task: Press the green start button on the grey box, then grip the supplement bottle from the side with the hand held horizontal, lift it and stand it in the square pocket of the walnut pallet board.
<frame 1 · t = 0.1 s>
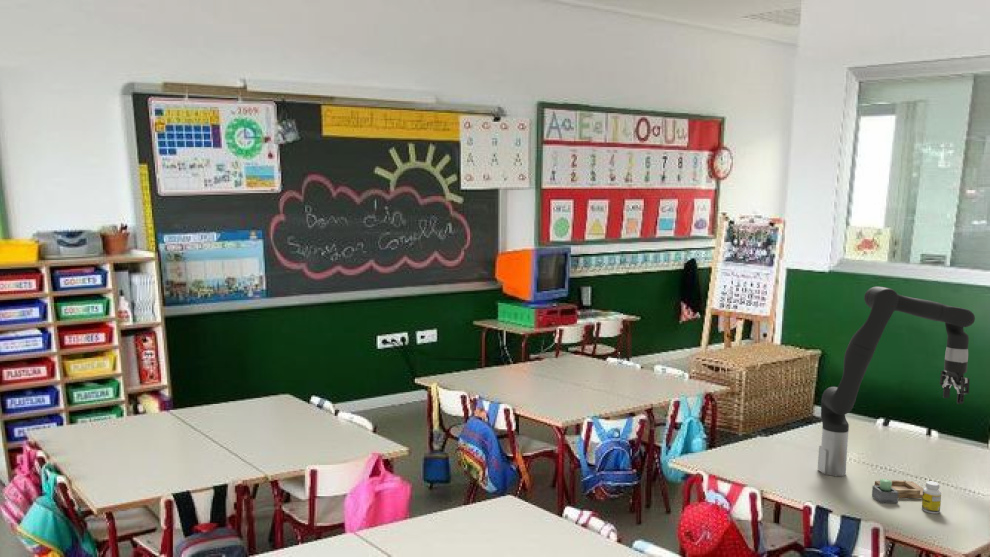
hand: (952, 400, 286), 29 cm above the table, tool pointing down, fingers open, 8 cm apart
pallet board: (903, 491, 270), on the table
start button: (885, 485, 261), point 5 cm above the table, slide at 0.0 cm
supplement bottle: (930, 511, 253), on the table
button box: (884, 499, 262), on the table
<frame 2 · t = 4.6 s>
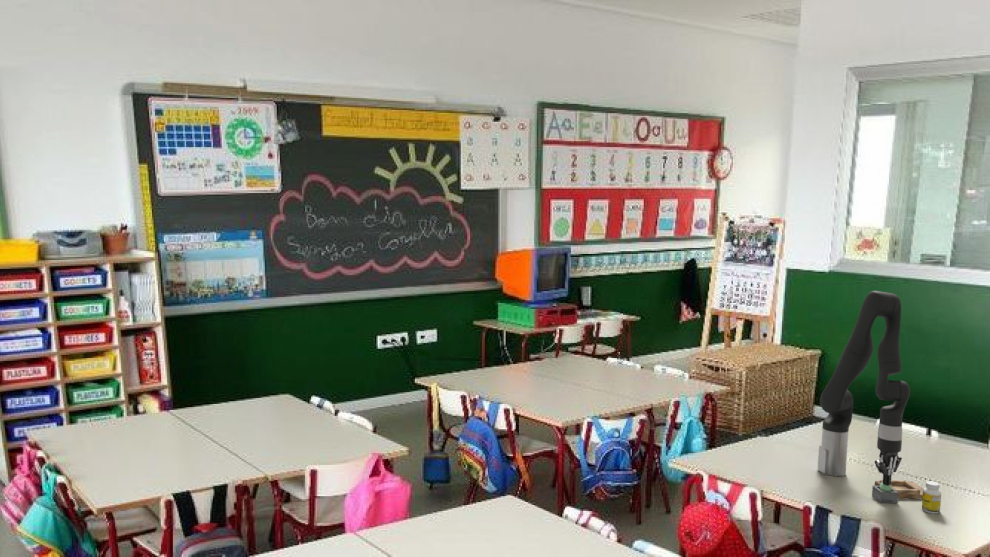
hand: (886, 484, 261), 6 cm above the table, tool pointing down, fingers closed
start button: (885, 488, 262), point 4 cm above the table, slide at 1.4 cm
everything else where it was.
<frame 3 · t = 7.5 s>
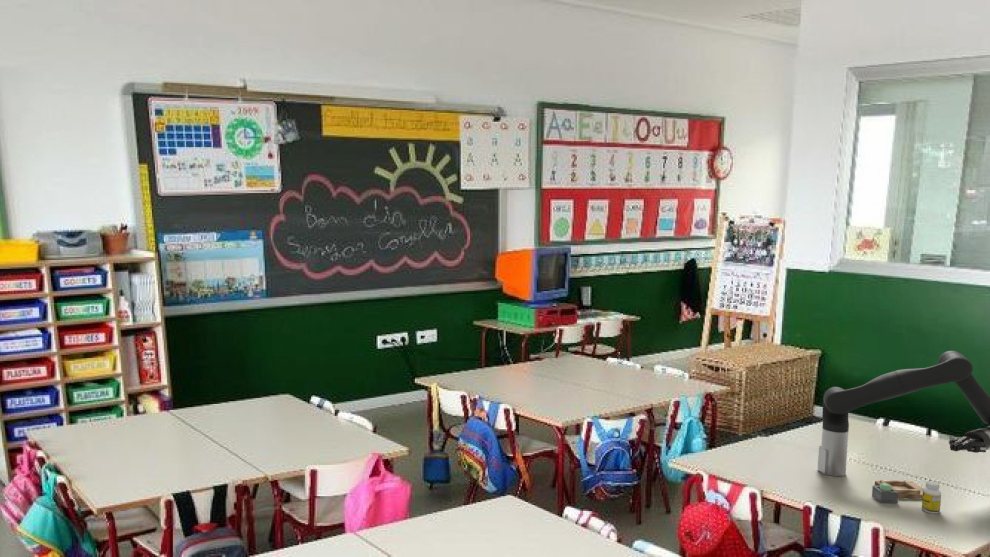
hand: (953, 447, 257), 20 cm above the table, tool horizontal, fingers closed
nothing on the table moved.
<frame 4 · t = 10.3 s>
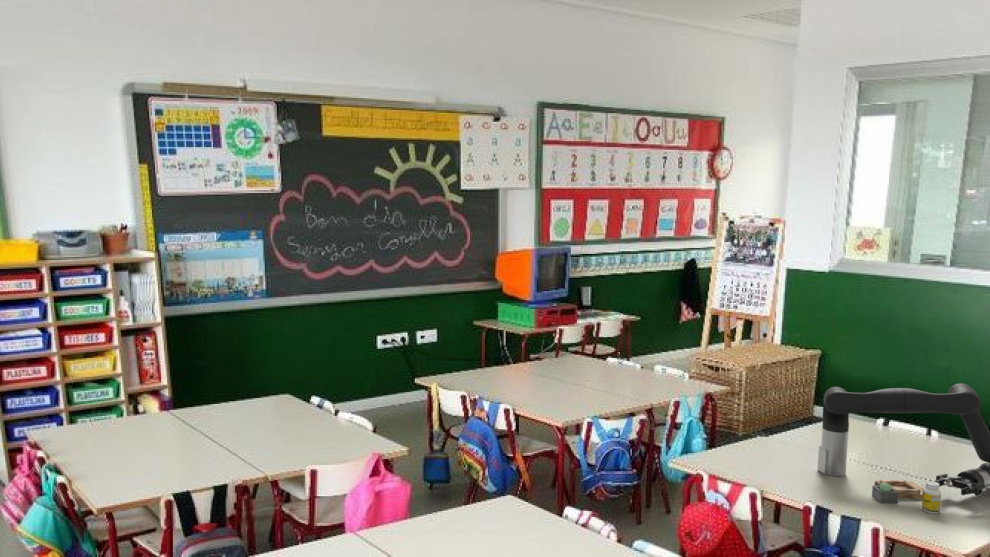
hand: (949, 488, 257), 6 cm above the table, tool horizontal, fingers open, 8 cm apart
nothing on the table moved.
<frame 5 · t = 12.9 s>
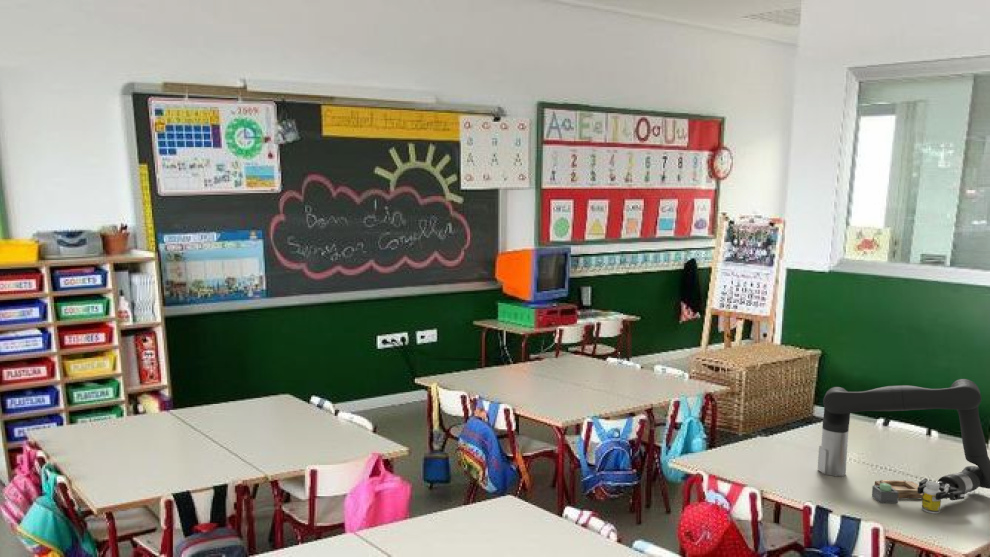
hand: (927, 493, 251), 7 cm above the table, tool horizontal, fingers closed on supplement bottle, 5 cm apart
supplement bottle: (930, 511, 253), on the table, touching gripper
everything else where it was.
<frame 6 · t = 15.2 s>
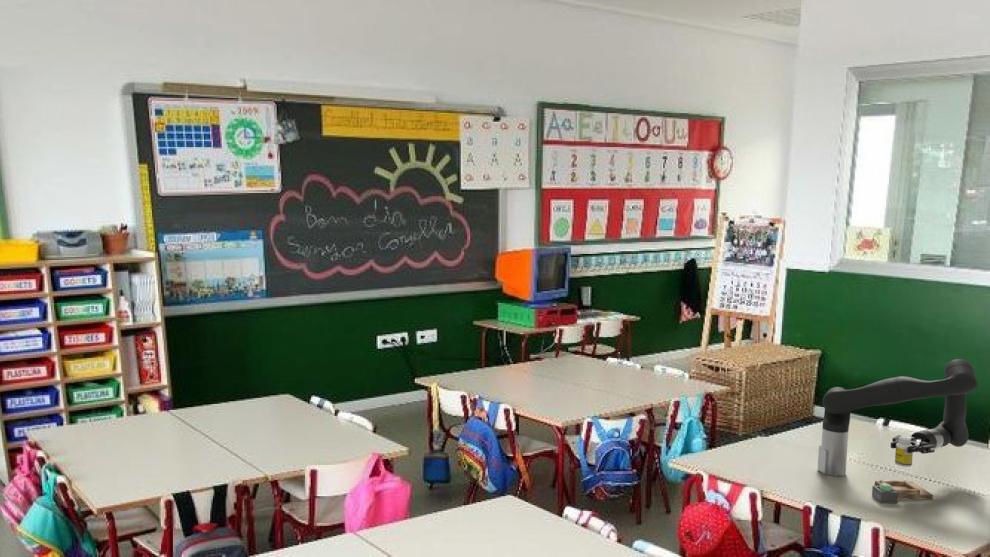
hand: (900, 447, 265), 17 cm above the table, tool horizontal, fingers closed on supplement bottle, 5 cm apart
supplement bottle: (903, 465, 267), point 11 cm above the table, touching gripper
everything else where it was.
when the fingers open (9 cm above the table, at t = 17.4 s): supplement bottle drops 1 cm, resting on pallet board.
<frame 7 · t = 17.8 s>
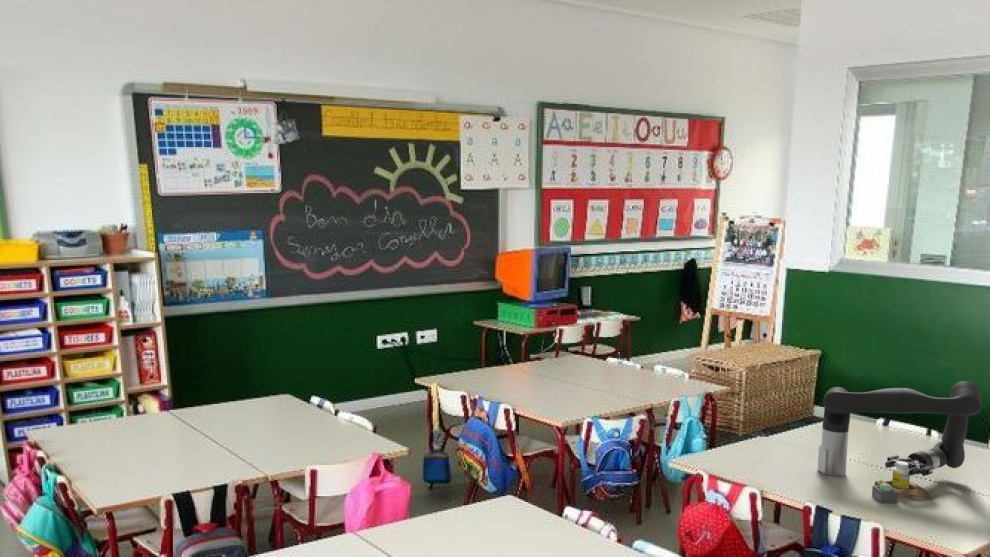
hand: (897, 468, 267), 9 cm above the table, tool horizontal, fingers open, 8 cm apart
supplement bottle: (900, 489, 268), point 1 cm above the table, touching pallet board
everything else where it was.
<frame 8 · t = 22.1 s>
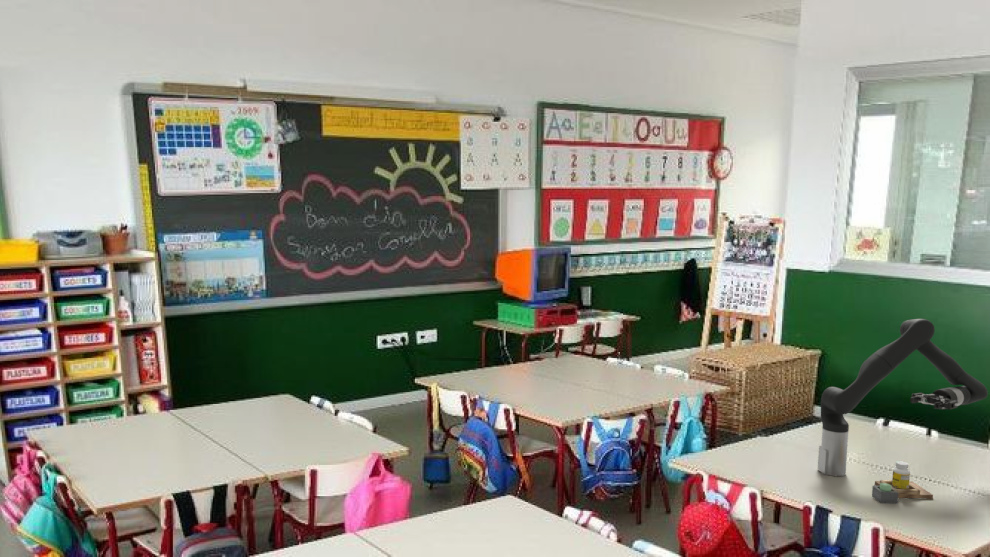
hand: (923, 403, 271), 32 cm above the table, tool horizontal, fingers open, 8 cm apart
nothing on the table moved.
at the end: supplement bottle 0.2 cm from the target spot on the pallet board, point 1.3 cm above the pallet board's base; supplement bottle tilted 0°; start button slide at 1.6 cm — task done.
